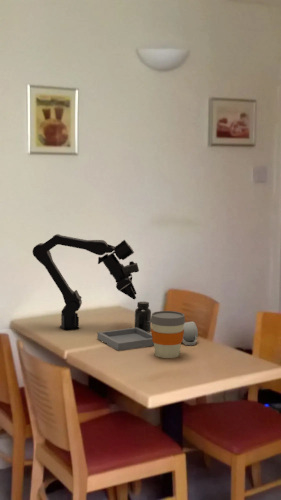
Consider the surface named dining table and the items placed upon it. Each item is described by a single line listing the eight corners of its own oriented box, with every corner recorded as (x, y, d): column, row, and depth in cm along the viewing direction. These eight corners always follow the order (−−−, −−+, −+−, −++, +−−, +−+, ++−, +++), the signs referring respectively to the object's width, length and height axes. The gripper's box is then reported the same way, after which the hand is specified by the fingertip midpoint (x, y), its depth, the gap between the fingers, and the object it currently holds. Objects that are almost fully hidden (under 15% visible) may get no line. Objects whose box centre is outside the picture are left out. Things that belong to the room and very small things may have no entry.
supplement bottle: (150, 332, 265) (151, 304, 264) (134, 332, 265) (134, 304, 264) (150, 328, 272) (151, 301, 271) (134, 328, 272) (135, 300, 271)
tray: (118, 350, 239) (118, 343, 238) (97, 339, 254) (97, 332, 254) (159, 344, 247) (159, 337, 247) (136, 334, 263) (136, 327, 263)
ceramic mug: (171, 339, 255) (172, 320, 254) (190, 337, 258) (190, 319, 257) (182, 347, 246) (183, 327, 245) (201, 345, 249) (202, 326, 247)
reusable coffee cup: (154, 360, 228) (154, 319, 226) (146, 350, 240) (147, 311, 238) (188, 358, 230) (189, 318, 228) (179, 348, 242) (180, 310, 240)
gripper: (129, 258, 257) (151, 290, 259) (130, 252, 276) (151, 281, 277) (106, 274, 258) (128, 305, 260) (109, 267, 277) (130, 296, 278)
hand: (135, 296), depth 269 cm, fingers open, 9 cm apart
